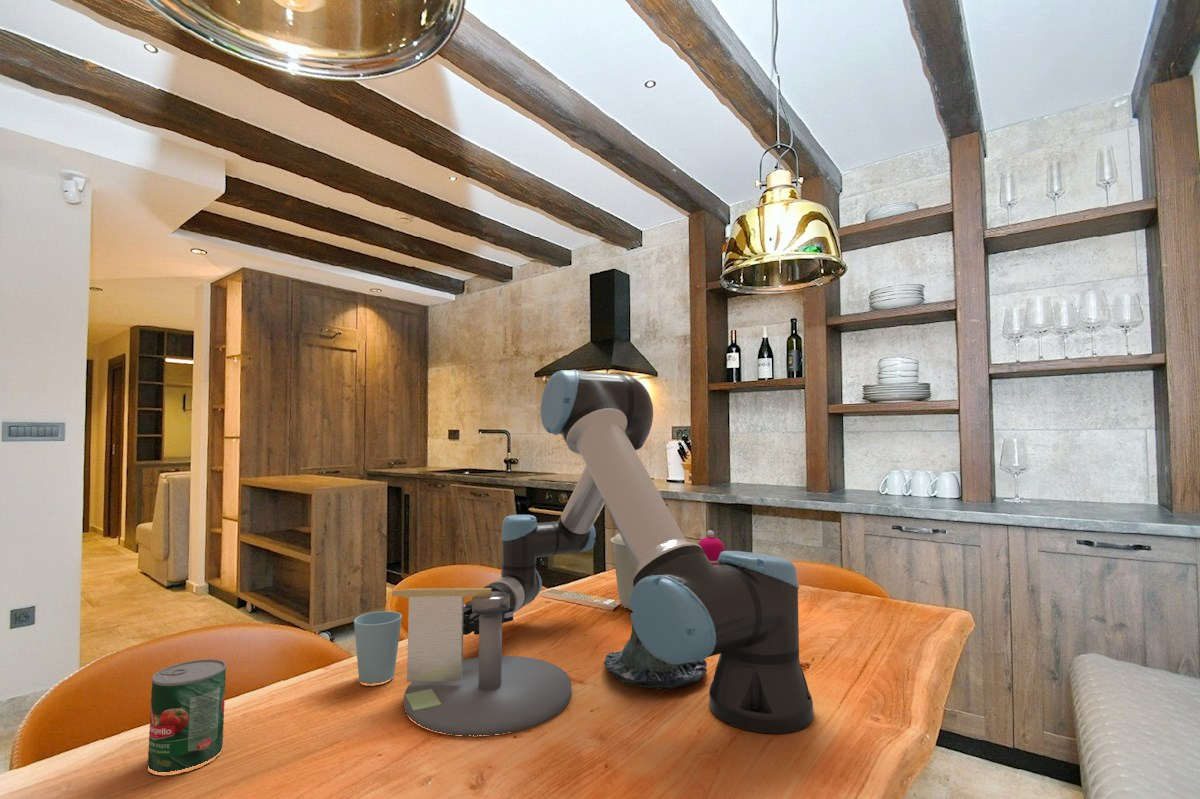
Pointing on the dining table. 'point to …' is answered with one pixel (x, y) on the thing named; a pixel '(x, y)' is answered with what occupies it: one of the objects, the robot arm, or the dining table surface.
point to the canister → (623, 570)
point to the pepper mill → (712, 547)
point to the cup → (377, 645)
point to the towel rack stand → (442, 628)
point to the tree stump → (650, 667)
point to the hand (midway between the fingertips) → (436, 639)
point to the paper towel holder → (490, 691)
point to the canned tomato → (186, 714)
